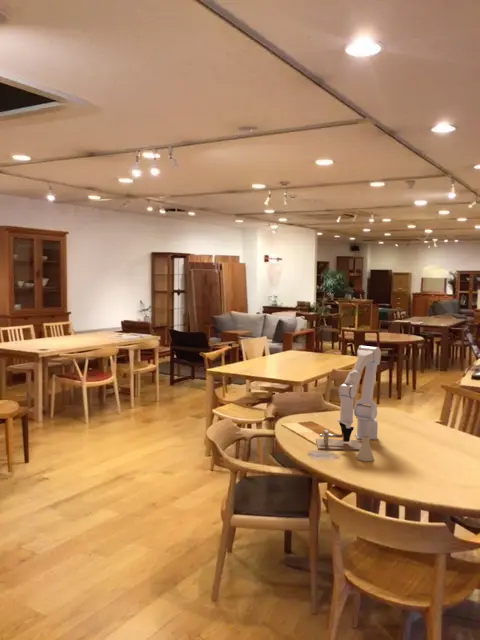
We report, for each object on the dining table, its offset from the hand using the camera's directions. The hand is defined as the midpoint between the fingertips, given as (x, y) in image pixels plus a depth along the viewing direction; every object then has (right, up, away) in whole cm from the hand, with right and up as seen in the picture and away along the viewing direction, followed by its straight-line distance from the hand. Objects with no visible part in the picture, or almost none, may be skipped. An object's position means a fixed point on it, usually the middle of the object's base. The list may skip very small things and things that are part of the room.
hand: (345, 439), depth 265 cm
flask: (+5, -5, -18) cm, 19 cm away
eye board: (-2, -3, 0) cm, 4 cm away
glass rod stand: (-5, -1, 0) cm, 5 cm away
